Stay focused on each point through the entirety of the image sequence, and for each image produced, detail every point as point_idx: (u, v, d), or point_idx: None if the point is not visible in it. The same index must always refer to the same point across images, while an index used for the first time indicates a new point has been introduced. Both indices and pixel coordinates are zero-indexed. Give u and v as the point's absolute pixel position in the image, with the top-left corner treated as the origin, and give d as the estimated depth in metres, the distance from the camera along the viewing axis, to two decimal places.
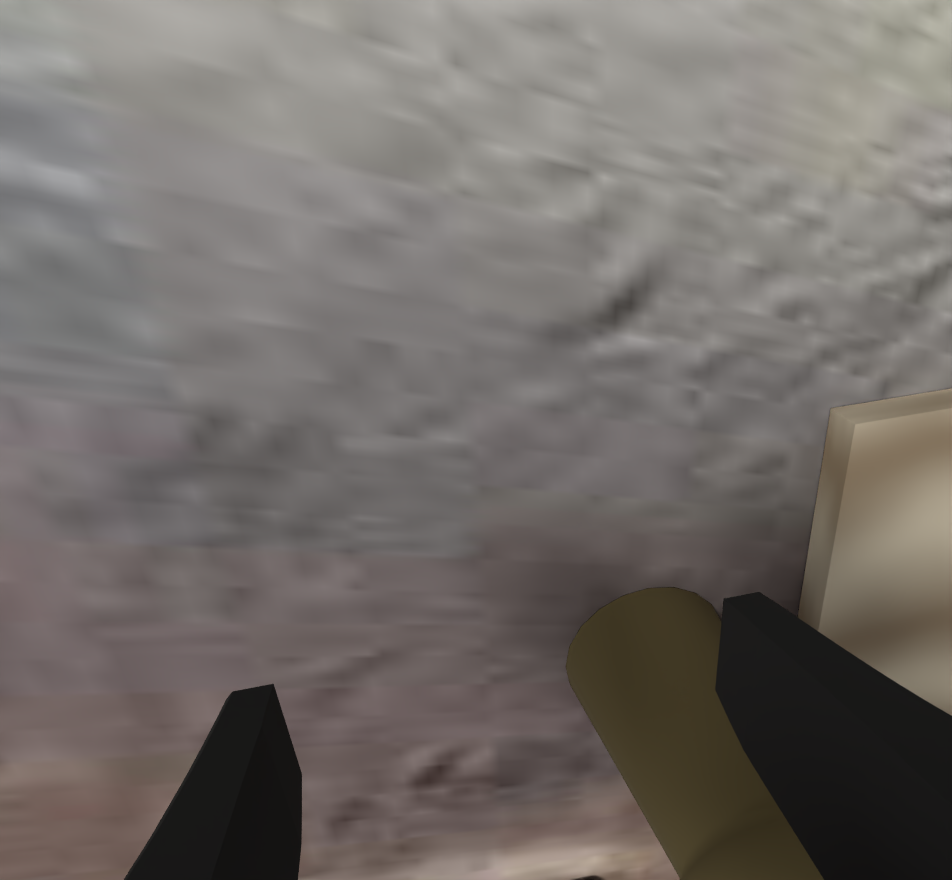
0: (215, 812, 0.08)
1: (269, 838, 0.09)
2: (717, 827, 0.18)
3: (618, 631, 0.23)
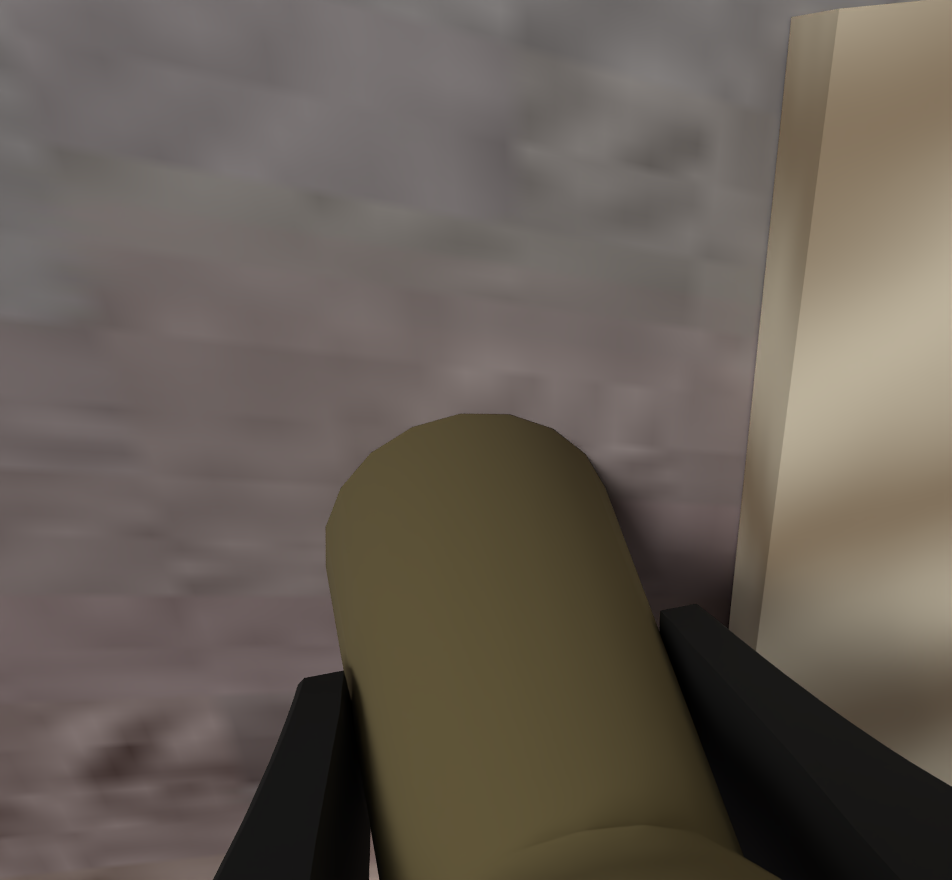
0: (307, 793, 0.08)
1: (349, 821, 0.09)
2: None
3: (388, 483, 0.12)
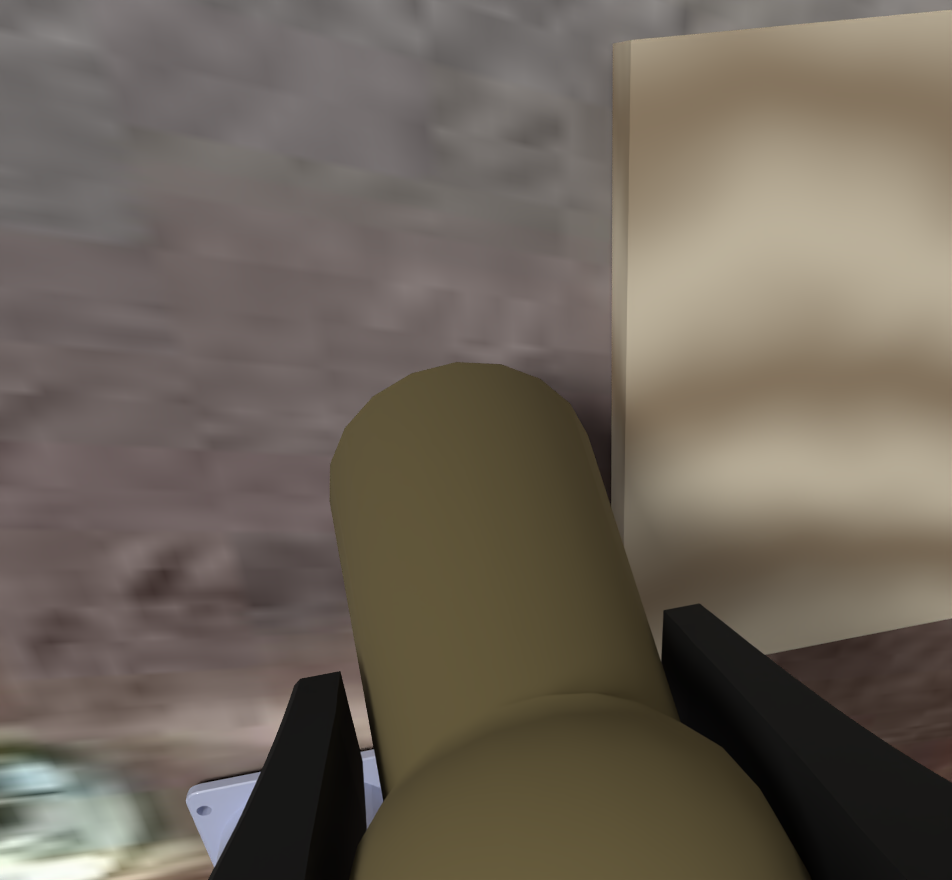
0: (302, 794, 0.08)
1: (345, 822, 0.09)
2: (445, 735, 0.08)
3: (389, 422, 0.13)
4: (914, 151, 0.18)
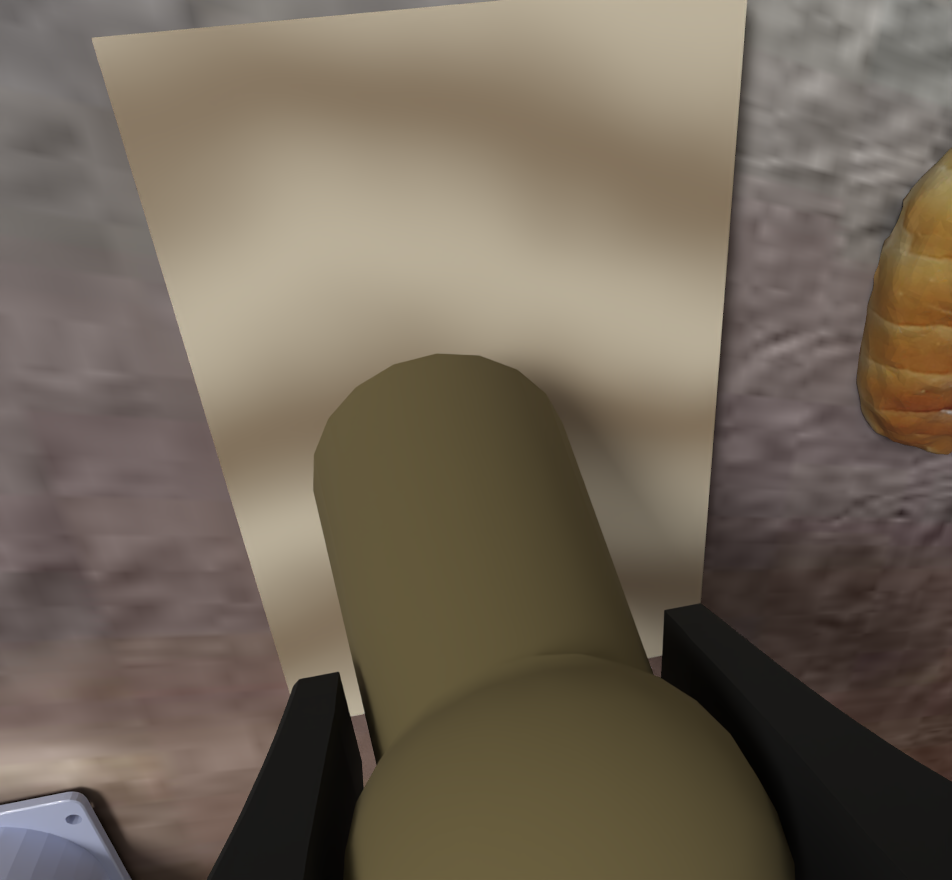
0: (301, 794, 0.08)
1: (344, 822, 0.09)
2: (437, 695, 0.08)
3: (372, 410, 0.14)
4: (477, 159, 0.16)
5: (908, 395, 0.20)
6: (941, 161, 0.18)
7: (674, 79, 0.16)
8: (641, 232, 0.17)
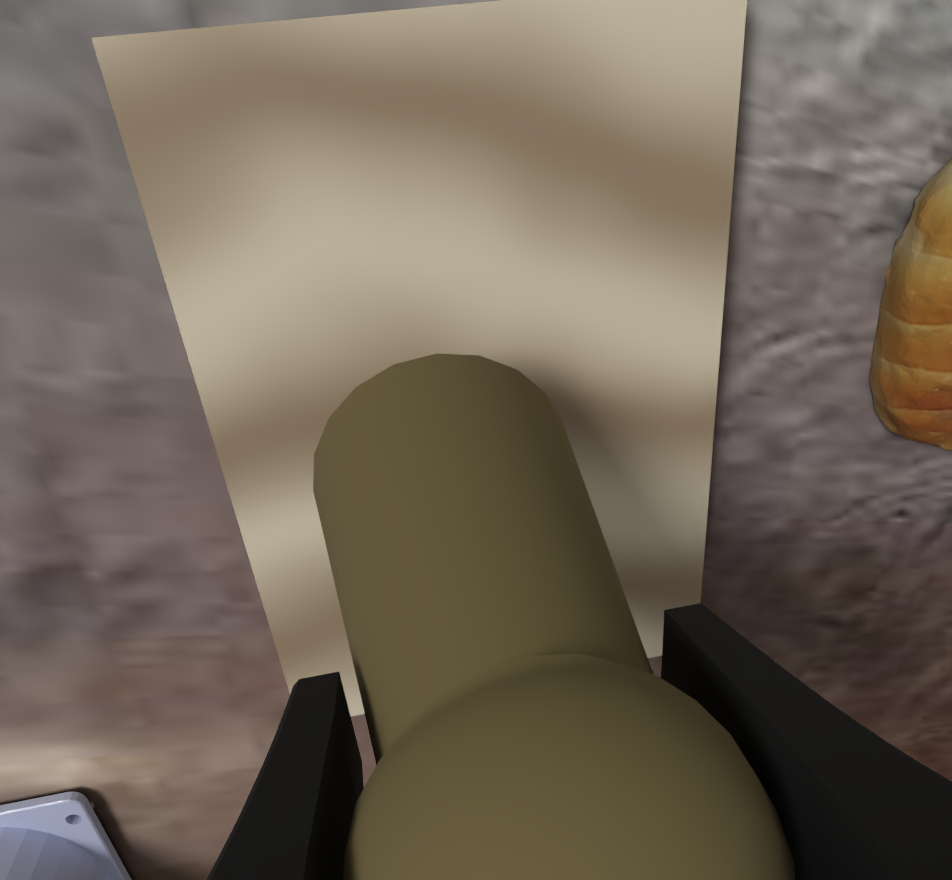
0: (301, 794, 0.08)
1: (344, 822, 0.09)
2: (437, 695, 0.08)
3: (372, 410, 0.14)
4: (477, 159, 0.16)
5: (922, 393, 0.20)
6: None
7: (674, 79, 0.16)
8: (641, 232, 0.17)
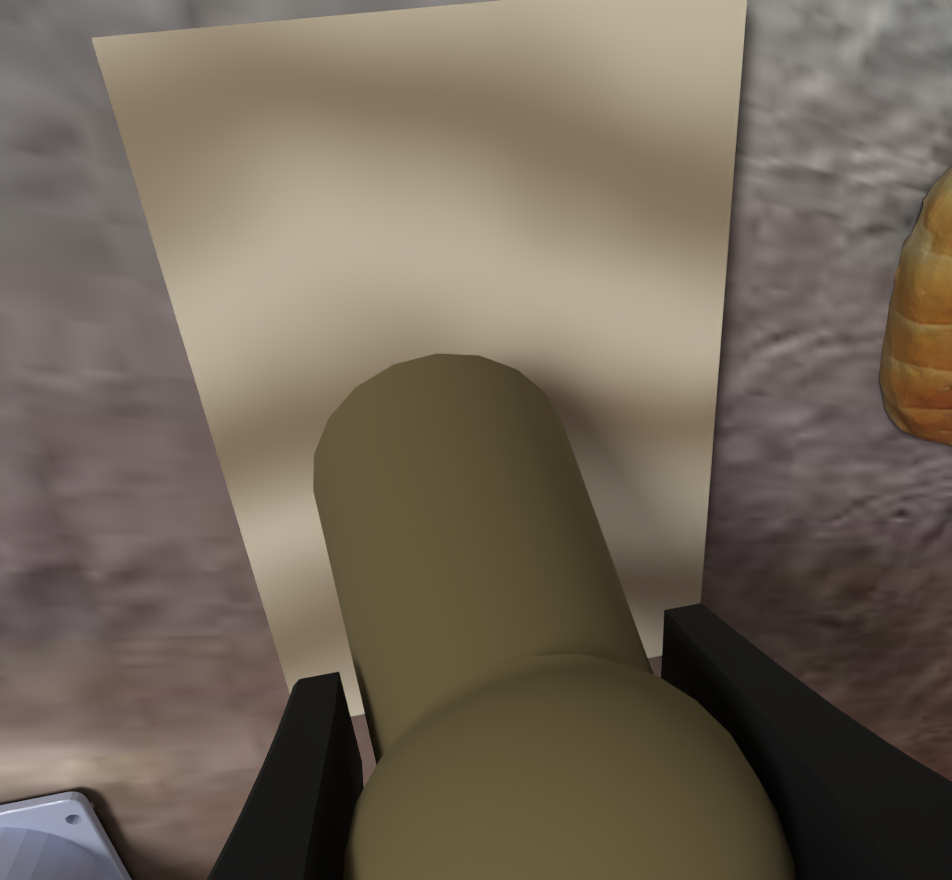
0: (301, 794, 0.08)
1: (344, 822, 0.09)
2: (437, 695, 0.08)
3: (372, 410, 0.14)
4: (477, 159, 0.16)
5: (932, 393, 0.20)
6: None
7: (674, 79, 0.16)
8: (641, 232, 0.17)
